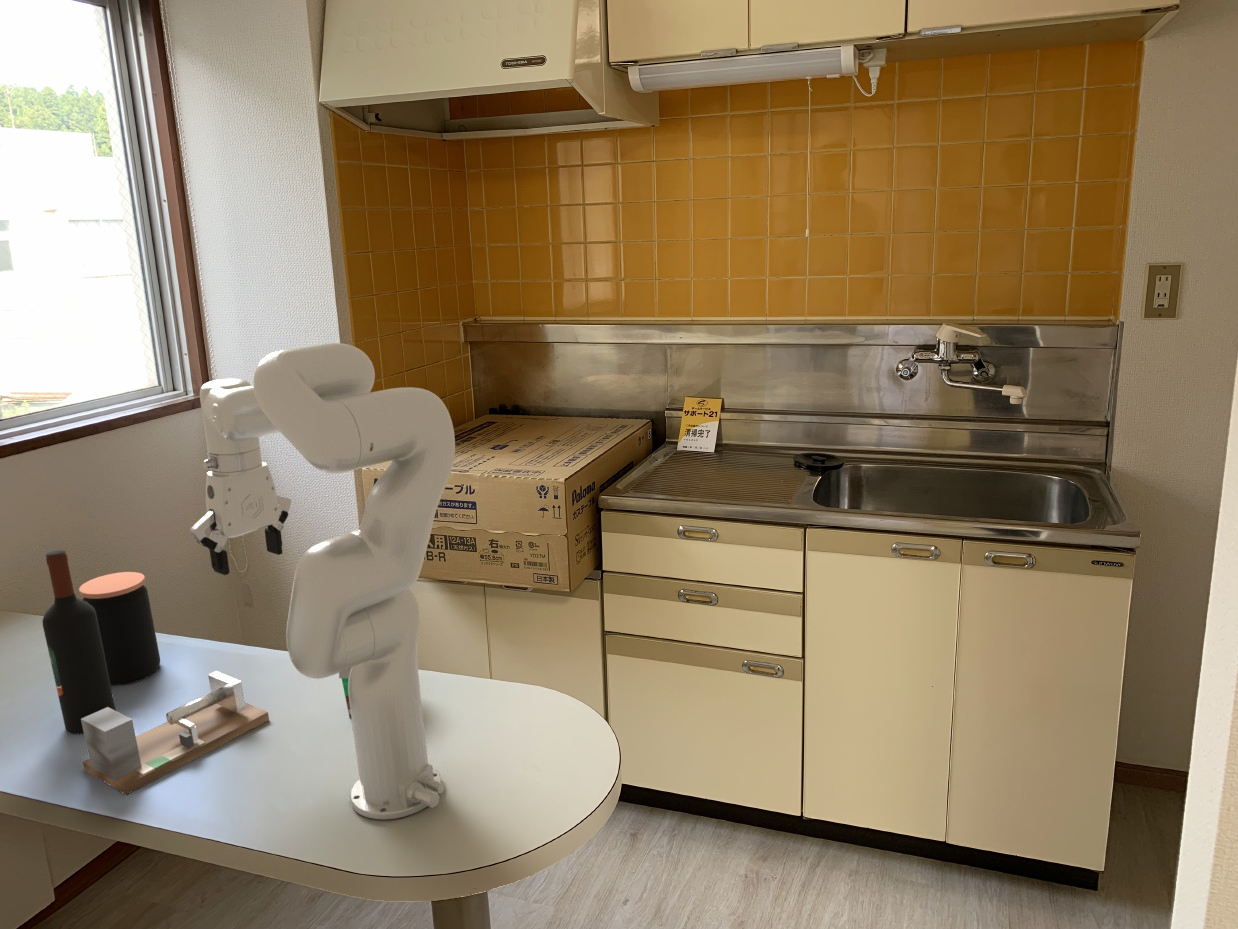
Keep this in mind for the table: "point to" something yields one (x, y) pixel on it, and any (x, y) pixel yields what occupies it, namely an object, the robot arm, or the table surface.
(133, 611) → the coffee jar
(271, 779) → the table surface
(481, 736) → the table surface
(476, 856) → the table surface
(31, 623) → the table surface
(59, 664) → the wine bottle
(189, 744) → the dark grey small block
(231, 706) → the plunger
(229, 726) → the gauge board
